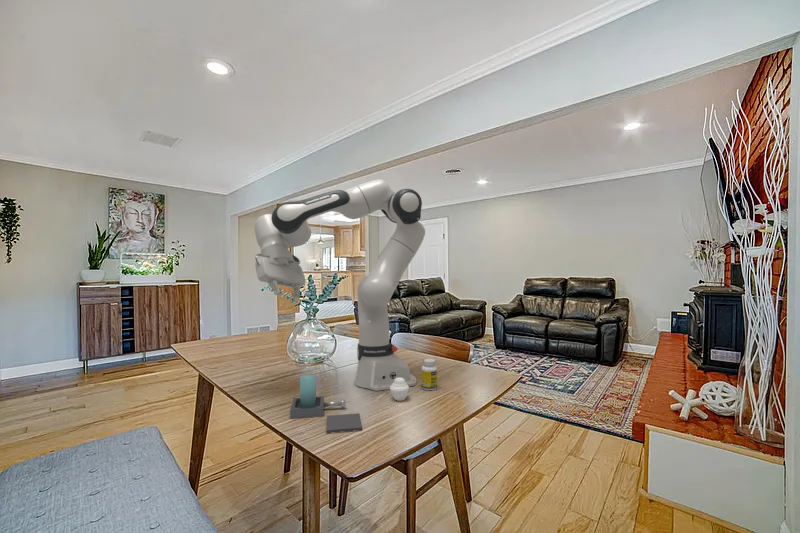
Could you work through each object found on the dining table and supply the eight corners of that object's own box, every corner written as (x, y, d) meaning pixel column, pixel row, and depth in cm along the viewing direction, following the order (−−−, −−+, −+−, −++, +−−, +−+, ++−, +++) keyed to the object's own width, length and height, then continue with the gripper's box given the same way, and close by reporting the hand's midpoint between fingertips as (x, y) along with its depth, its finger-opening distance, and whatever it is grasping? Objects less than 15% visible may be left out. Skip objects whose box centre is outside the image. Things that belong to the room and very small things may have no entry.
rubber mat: (359, 416, 100) (359, 413, 100) (362, 430, 91) (362, 427, 91) (326, 418, 98) (326, 415, 98) (326, 433, 89) (326, 430, 89)
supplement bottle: (432, 392, 119) (432, 363, 119) (418, 389, 122) (418, 360, 122) (439, 387, 124) (439, 359, 124) (425, 384, 126) (425, 357, 127)
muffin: (410, 402, 110) (410, 379, 110) (391, 403, 109) (391, 380, 109) (407, 395, 116) (407, 373, 116) (388, 396, 115) (388, 374, 115)
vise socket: (345, 402, 110) (345, 394, 110) (346, 414, 101) (346, 405, 101) (293, 406, 107) (293, 397, 107) (290, 418, 98) (290, 409, 98)
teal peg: (315, 407, 106) (316, 374, 106) (315, 413, 102) (315, 378, 102) (300, 408, 105) (300, 375, 105) (299, 414, 101) (299, 379, 101)
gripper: (261, 247, 109) (273, 287, 104) (302, 260, 127) (313, 294, 123) (246, 257, 110) (257, 297, 106) (288, 268, 129) (299, 302, 125)
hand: (288, 295), depth 115 cm, fingers open, 8 cm apart
